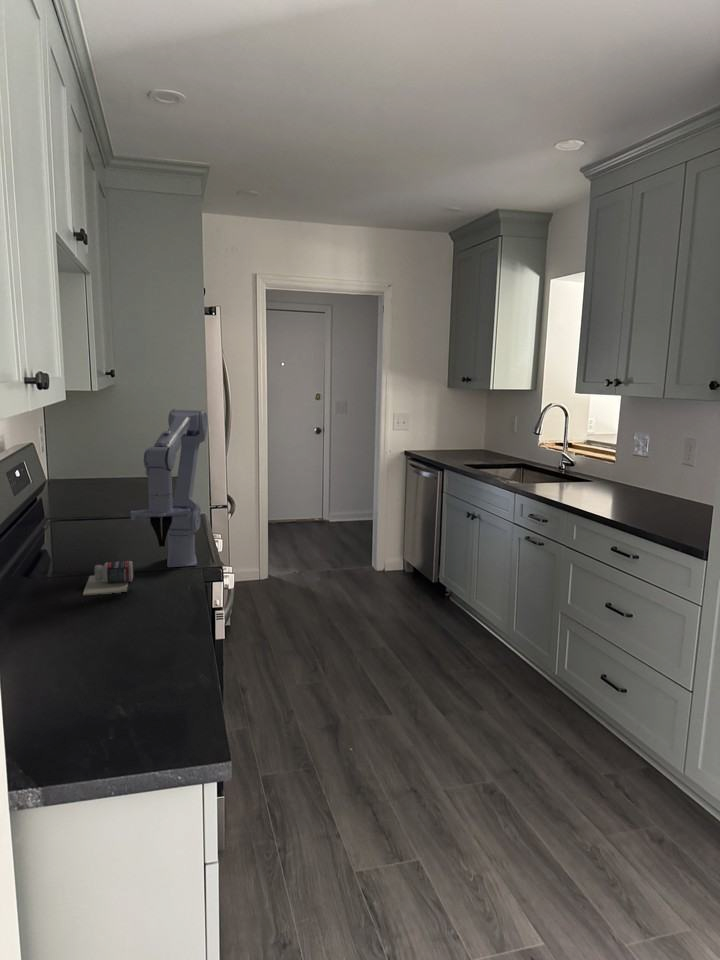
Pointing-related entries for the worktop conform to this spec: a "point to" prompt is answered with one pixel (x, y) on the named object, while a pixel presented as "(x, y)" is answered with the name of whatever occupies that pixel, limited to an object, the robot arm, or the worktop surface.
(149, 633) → the worktop surface
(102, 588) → the mat
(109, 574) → the pill bottle
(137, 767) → the worktop surface
